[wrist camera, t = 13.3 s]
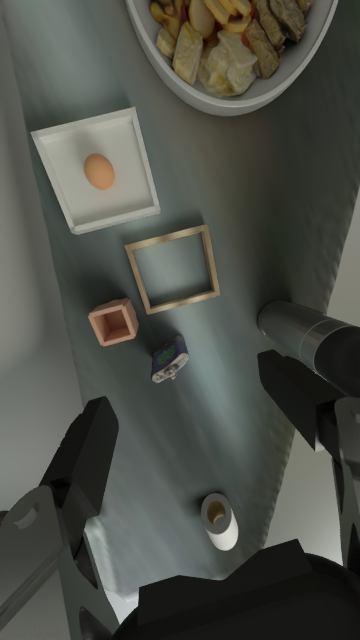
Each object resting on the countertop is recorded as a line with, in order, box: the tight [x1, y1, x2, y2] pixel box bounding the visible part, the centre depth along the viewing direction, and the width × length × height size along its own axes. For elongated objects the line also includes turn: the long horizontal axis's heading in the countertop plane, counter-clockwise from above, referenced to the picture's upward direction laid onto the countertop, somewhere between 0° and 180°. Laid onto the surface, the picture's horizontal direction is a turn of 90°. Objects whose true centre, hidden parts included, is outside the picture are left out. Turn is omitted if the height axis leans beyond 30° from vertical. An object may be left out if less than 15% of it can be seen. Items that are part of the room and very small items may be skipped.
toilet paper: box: [201, 493, 238, 550], centre depth 61 cm, size 10×10×10 cm
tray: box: [30, 107, 160, 235], centre depth 31 cm, size 16×14×3 cm
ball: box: [84, 153, 115, 190], centre depth 29 cm, size 4×4×4 cm
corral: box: [125, 224, 220, 315], centre depth 38 cm, size 16×14×2 cm
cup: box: [88, 298, 139, 346], centre depth 37 cm, size 7×7×7 cm
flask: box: [151, 335, 189, 383], centre depth 39 cm, size 9×3×11 cm, turn 129°
